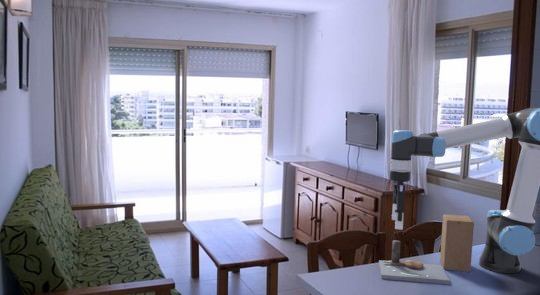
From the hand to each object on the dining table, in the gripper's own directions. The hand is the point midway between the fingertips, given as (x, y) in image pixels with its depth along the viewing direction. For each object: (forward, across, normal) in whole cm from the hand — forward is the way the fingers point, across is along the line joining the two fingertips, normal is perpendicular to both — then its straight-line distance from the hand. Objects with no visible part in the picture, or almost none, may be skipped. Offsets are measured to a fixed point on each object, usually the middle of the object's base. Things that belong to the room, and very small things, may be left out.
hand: (397, 224), depth 185 cm
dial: (+16, 0, +3) cm, 16 cm away
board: (+18, +4, +6) cm, 19 cm away
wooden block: (+18, -8, +24) cm, 31 cm away
